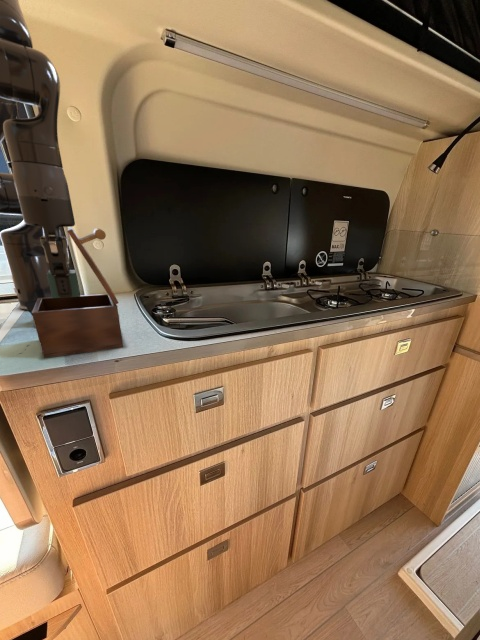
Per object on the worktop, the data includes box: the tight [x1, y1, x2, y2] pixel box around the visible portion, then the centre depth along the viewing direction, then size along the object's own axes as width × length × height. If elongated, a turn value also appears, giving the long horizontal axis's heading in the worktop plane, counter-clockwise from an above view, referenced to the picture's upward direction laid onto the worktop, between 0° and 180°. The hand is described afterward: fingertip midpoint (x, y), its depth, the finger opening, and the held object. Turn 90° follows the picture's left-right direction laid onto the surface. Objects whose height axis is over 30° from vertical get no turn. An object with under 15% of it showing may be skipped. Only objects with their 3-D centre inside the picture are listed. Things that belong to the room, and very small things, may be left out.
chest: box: [31, 293, 124, 359], centre depth 60 cm, size 14×12×9 cm
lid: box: [67, 227, 119, 305], centre depth 58 cm, size 14×12×5 cm
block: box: [47, 269, 81, 298], centre depth 56 cm, size 4×4×4 cm
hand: (66, 293), depth 57 cm, fingers closed on block, 4 cm apart
